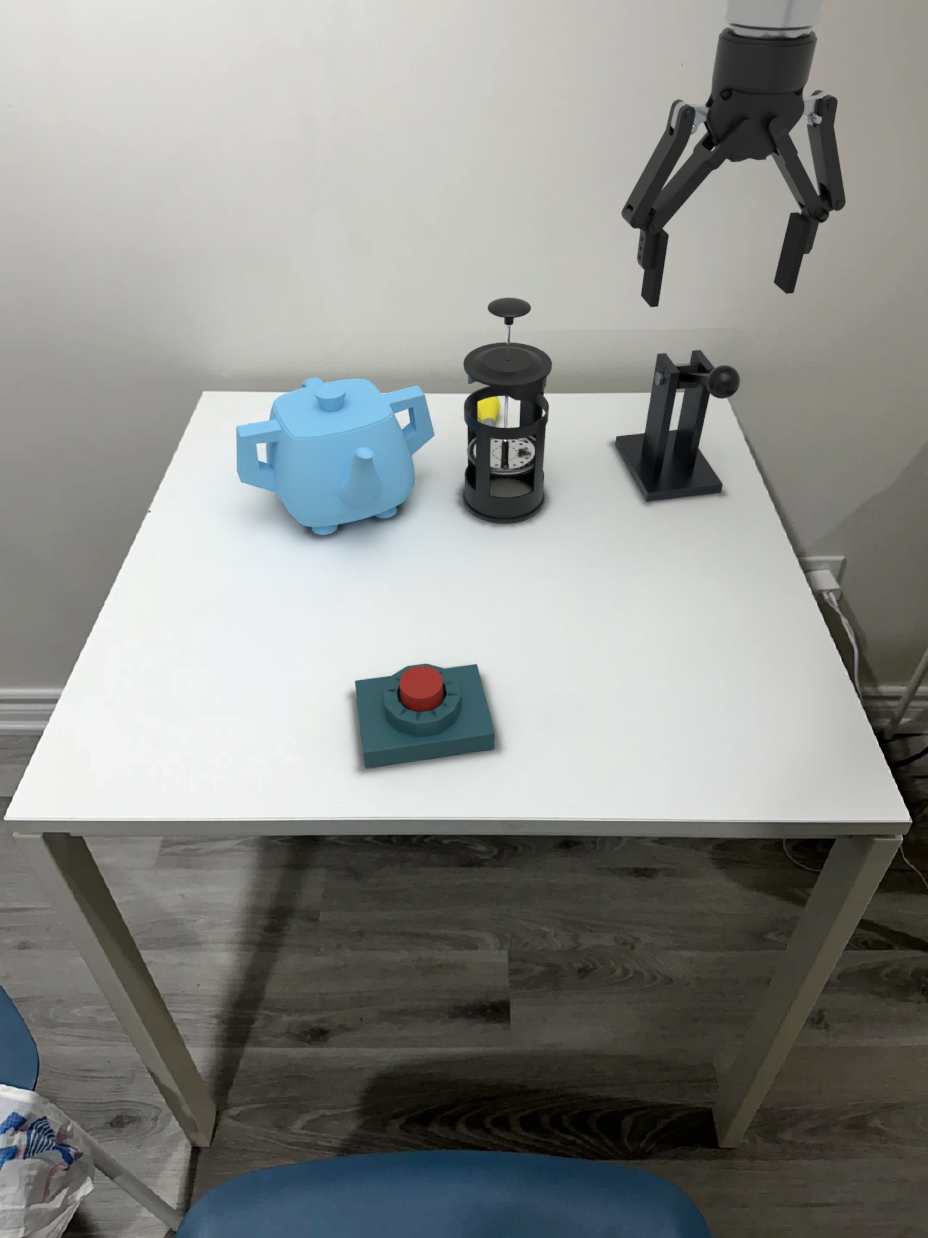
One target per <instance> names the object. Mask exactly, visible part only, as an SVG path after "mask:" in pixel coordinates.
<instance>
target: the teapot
mask: <svg viewBox="0 0 928 1238" xmlns="http://www.w3.org/2000/svg"><path fill="white" fill-rule="evenodd" d="M406 410H407V411H408V417H409V423H408V424H406V425H405V426H404V427H403V428H402V427H401V425H400V422H399V420H398V418H397V417H396V414H399V413H400V412H403V411H406ZM235 429H236V430H235V436H236V439H235V440H236V473H237V475H238V478H239V481H240V483H242V484H245V485H248V486H252V487H254V488H259V489H262V490H264V491H268V492H272V493H275V494H276V495H277V496H278V498H279V500H280V502H281V503H282V505H283V506H284V508H285V509H286V510H287V511H288V513H289V514H290V515H291V517H293V519H294V520H295V521H296V522H297V523H299V524H300V525H302V526H304V527H308V528H311V530H312V532H313V533H314V534H316V535H319V536H326V535H327V536H328V535H331V534H333V533H335V532H336V531H337V530H338V526H339V525H342V524H349V523H354V522H356V521H360V520H364V519H367V518H372V517H376V518H378V519H388V518H392V517H394V516H395V515H396V514H397V512H398V508H397V506H400V505H401V504H402V503H404V502H405V501H406V500H407V499H408V497H409V495H410V494H411V492H412V490H413V487H414V485H415V481H416V477H415V476H416V475H415V466H414V460H413V455H414V454H416V453H417V452H418V451H419V450H420V449H421V448H422V447H423V446H425V445H426V444H427V443H428V442H429V441H430V440H432V439H433V438H434V437H435V431H434V426H433V422H432V418H431V414H430V409H429V406H428V401H427V398H426V394H425V392H423V389H421V388H420V386H419V385H413V386H409V387H405V388H402V389H401V388H400V389H398V390H394V391H390V392H385V393H382V392H381V391H380V390H379V388H378V387H376V385H375V384H374V383H372V382H371V381H370V380H368V379H365V378H346V379H345V378H344V379H337V380H331V381H326V382H324V381H323V380H322V379H321V378H320V377H315V376H314V377H309V378H306V379H305V380H303V381H302V383H301V387H300V388H298V389H295V390H291V391H288V392H285V393H284V394H281V395H279V396H277V397H276V398H275V399H274V400H273V401H272V405H271V408H270V414H269V418H268V420H264V421H258V422H252V423H247V424H240V425H236V426H235ZM258 444H265V456H266V462H265V461H261V460H259V454H258V447H257V446H258Z"/></svg>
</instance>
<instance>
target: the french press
mask: <svg viewBox="0 0 928 1238" xmlns="http://www.w3.org/2000/svg"><path fill="white" fill-rule="evenodd" d="M531 310H532V306H531V304H530V303H529V302H528V301H526V300H524V299H522V298H517V297H501V298H496V299H494V300H492V301H491V302H489V303H488V304H487V311H488V313H490V314H491V315H493V316H495V317H498V318H503V323H504V325H505V326H506V341H503V342H494V343H493V342H492V343H489V344H483V345H481V346H479V347H476V348H474V349H473V350H471V351H470V352H468V353H467V354H466V356H465V357H464V359H463V363H462V364H463V370H464V373H465V374H466V375H467V383H468V384H467V385H472V384H473V383H479V384H482V385H485V386H483V387H482V388H479V389H477V390H475V391H473V392H471V393H470V394H469V395H468V396H467V397H466V399H465V400H464V403H463V419H464V422H465V425H466V426H467V427H466V428H467V446H466V447H467V448H466V455H467V466H466V467H465V470H464V489H463V492H462V500H463V505H464V507H465V508H466V510H467V511H468V512H469V513H470V514H472V515H473V516H475V517H476V518H478V519H480V520H483V521H486V522H490V523H495V524H514V523H519V522H523V521H526V520H529V519H530V518H533V517H534V516H536V515H537V514H538V513H540V511H541V510H542V509H543V506H544V504H545V500H546V499H545V498H546V495H545V490H544V488H545V487H544V486H545V472H544V461H545V446H546V431H547V430H546V429H547V424H548V422H549V414H550V405H549V401H548V399H547V398H546V397H545V396H544V395H545V389H546V388H547V378H548V376H549V375H550V374H551V372H552V369H553V361H552V359H551V357H550V355H548V354H547V353H546V352H545V350H544V351H543V350H542V349H540V348H538V347H536V346H533V345H531V344H530V345H529V344H526V343H520V342H511V327H512V325H514V320H515V319H516V318H522V317H524V316H526V315H528V314H529V313H530V312H531ZM496 396H497V397H504V418H503V420H504V421H503V423H504V424H503V427H499V426H495V427H493V426H489V425H485V424H483V423H482V422H480V421H478V420H479V417H478V401H481V400H483V399H486V398H490V397H496ZM509 398H511V399H513V400H514V401H519V422H518V426H516V427H508V424H509V423H508V421H509V419H508V417H509ZM543 411H544V412H543ZM543 413H544V414H543ZM496 480H512V481H516V482H519V483H522V484H524V485H525V486H526V487H527V488H529V489H530V491H529V492H527V493H523V494H520V495H515V496H496V495H491V481H496Z"/></svg>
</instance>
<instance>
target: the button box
mask: <svg viewBox="0 0 928 1238" xmlns="http://www.w3.org/2000/svg"><path fill="white" fill-rule="evenodd" d="M417 666H427V667H431V668H433V669H435V670H436V671H438V672H439V673H440V675H441V677H442V680H443V699H442V701H441V703H440V704H439V705H438V706H437V707H435V708H434V709H432V710H429V711H424V712H418V711H413V710H411V709H409V708H407V707H406V706H405V705H404V704H403V702H402V700H401V694H400V678H401V676H402V675H403V674H404V673H405V672H406V671H407V670H409V669H411V668H413V667H417ZM354 684H355V686H354V687H355V696H356V702H357V703H356V704H357V712H358V713H357V714H358V721H359V729H360V738H361V739H360V740H361V747H362V756H363V762H364V768H365V769H370V768H371V769H372V768H377V767H383V766H390V765H398V764H404V763H410V762H418V761H423V760H429V759H430V760H431V759H436V758H437V759H439V758H444V757H451V756H456V755H457V756H458V755H464V754H470V753H471V754H472V753H477V752H478V753H479V752H483V751H484V752H485V751H491V750H495V740H496V739H495V738H496V737H495V736H496V734H495V729H494V725H493V720H492V717H491V713H490V708H489V705H488V701H487V698H486V693H485V690H484V686H483V682H482V678H481V674H480V670H479V666H478V664H477V663H473V664H467V665H459V666H458V665H457V666H450V667H441V666H438V665H434V664H431V663H418V664H411V665H406V666H405V667H403V668H402V669H400V670H398V671H396V672H395V673H393V674H391V675H386V676H380V677H379V676H378V677H371V678H363V679H355V681H354Z"/></svg>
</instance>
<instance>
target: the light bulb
mask: <svg viewBox="0 0 928 1238" xmlns="http://www.w3.org/2000/svg"><path fill="white" fill-rule="evenodd" d="M501 405H502V404H501V402H500V399H499V396H496V397H490V398H486V399H483V400H481V401H478V419H479V420H480V421H481V423H483V424H485V425H489V426H493V427H496V425H495V423H496V421H497V416H498V415H499V412H500V411H501V407H502V406H501Z"/></svg>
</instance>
